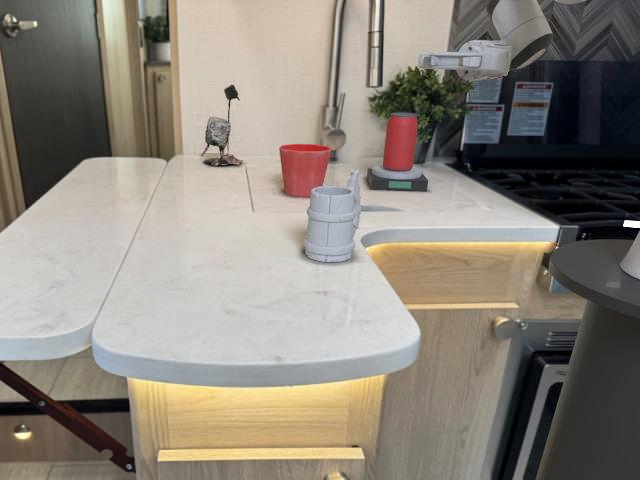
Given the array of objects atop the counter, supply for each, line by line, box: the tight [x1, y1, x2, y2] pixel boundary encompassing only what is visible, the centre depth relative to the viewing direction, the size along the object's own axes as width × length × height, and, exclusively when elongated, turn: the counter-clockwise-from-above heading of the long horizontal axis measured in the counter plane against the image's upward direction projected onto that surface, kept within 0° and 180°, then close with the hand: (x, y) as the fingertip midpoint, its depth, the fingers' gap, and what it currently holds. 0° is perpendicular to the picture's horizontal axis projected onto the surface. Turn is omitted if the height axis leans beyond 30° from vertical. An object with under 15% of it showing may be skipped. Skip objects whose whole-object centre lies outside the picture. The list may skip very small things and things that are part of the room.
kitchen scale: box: [366, 164, 429, 192], centre depth 128 cm, size 12×12×4 cm
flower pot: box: [279, 143, 332, 198], centre depth 119 cm, size 11×11×10 cm
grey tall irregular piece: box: [200, 84, 243, 166], centre depth 145 cm, size 8×11×20 cm
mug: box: [303, 169, 363, 263], centre depth 84 cm, size 8×12×12 cm, turn 139°
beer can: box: [382, 112, 419, 171], centre depth 125 cm, size 7×7×12 cm
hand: (442, 61), depth 125 cm, fingers open, 8 cm apart
